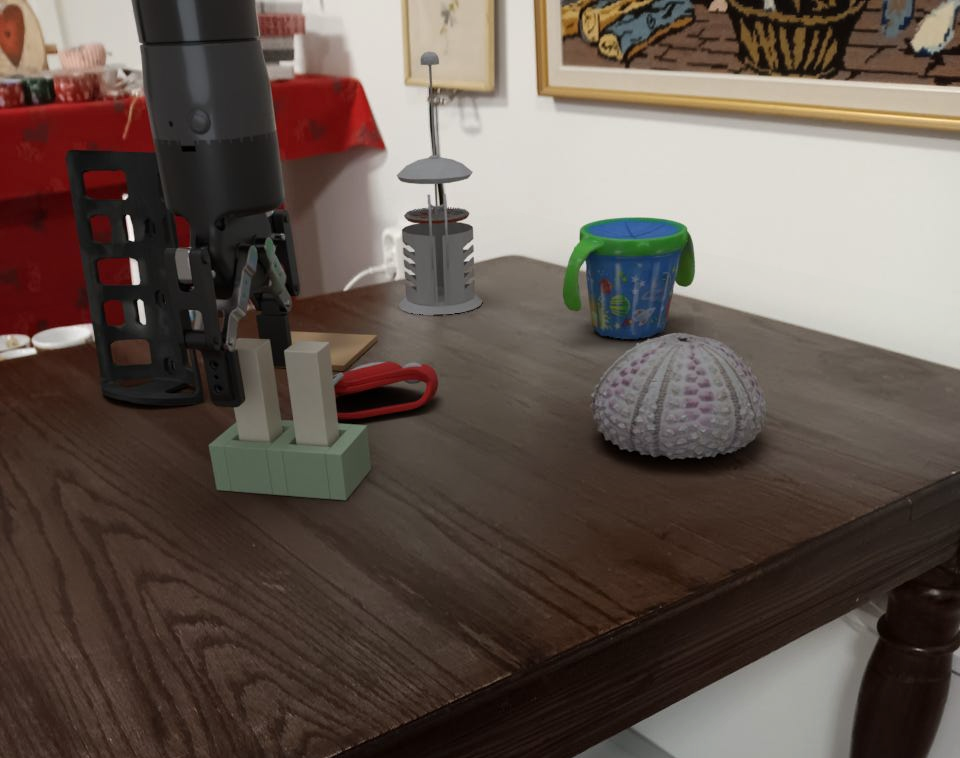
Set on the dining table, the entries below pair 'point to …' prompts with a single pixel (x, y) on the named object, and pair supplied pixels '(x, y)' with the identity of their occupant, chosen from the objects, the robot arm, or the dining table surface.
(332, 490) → the peg rack
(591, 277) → the snack cup
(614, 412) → the sea urchin shell
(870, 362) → the dining table surface
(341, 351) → the coaster
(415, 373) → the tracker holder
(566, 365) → the dining table surface
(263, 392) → the peg back
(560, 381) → the dining table surface
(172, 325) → the holder
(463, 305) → the french press
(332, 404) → the peg front
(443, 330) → the dining table surface
